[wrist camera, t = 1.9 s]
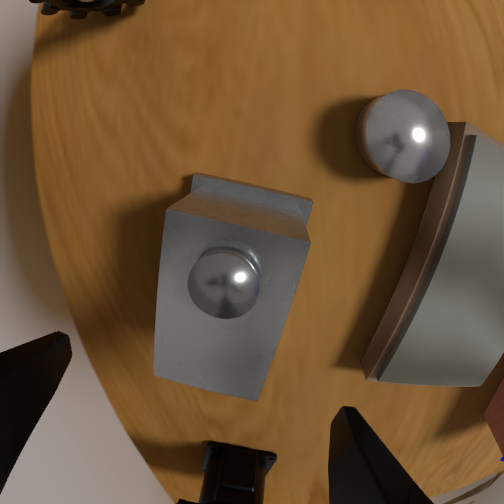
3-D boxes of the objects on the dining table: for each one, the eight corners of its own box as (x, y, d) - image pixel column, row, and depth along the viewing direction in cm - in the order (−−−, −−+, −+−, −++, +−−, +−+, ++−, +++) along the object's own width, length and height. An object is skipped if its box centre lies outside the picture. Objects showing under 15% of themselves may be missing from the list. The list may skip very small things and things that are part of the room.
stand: (469, 371, 19) (481, 390, 16) (360, 360, 19) (367, 386, 16) (549, 187, 13) (571, 196, 11) (447, 122, 13) (471, 121, 11)
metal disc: (417, 186, 15) (437, 195, 12) (345, 162, 15) (357, 166, 12) (435, 113, 13) (457, 111, 11) (364, 84, 13) (378, 75, 11)
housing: (269, 337, 19) (263, 421, 12) (177, 314, 19) (138, 389, 12) (311, 197, 15) (333, 240, 9) (198, 172, 15) (145, 196, 9)
